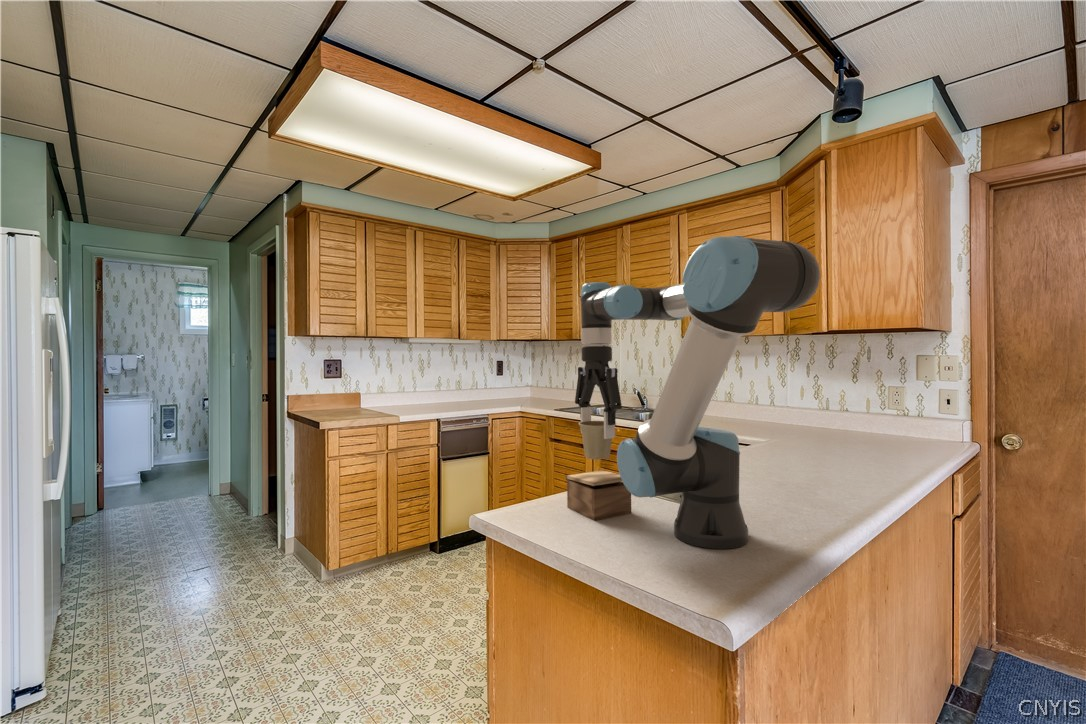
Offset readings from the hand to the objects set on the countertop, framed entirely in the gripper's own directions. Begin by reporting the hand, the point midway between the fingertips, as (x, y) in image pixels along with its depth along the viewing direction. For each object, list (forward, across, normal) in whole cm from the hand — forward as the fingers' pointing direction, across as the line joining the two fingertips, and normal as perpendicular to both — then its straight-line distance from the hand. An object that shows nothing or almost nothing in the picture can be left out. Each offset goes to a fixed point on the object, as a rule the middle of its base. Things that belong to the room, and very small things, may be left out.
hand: (597, 435), depth 129 cm
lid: (+11, 0, 0) cm, 11 cm away
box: (+19, 0, 0) cm, 19 cm away
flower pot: (+6, 0, 0) cm, 6 cm away
